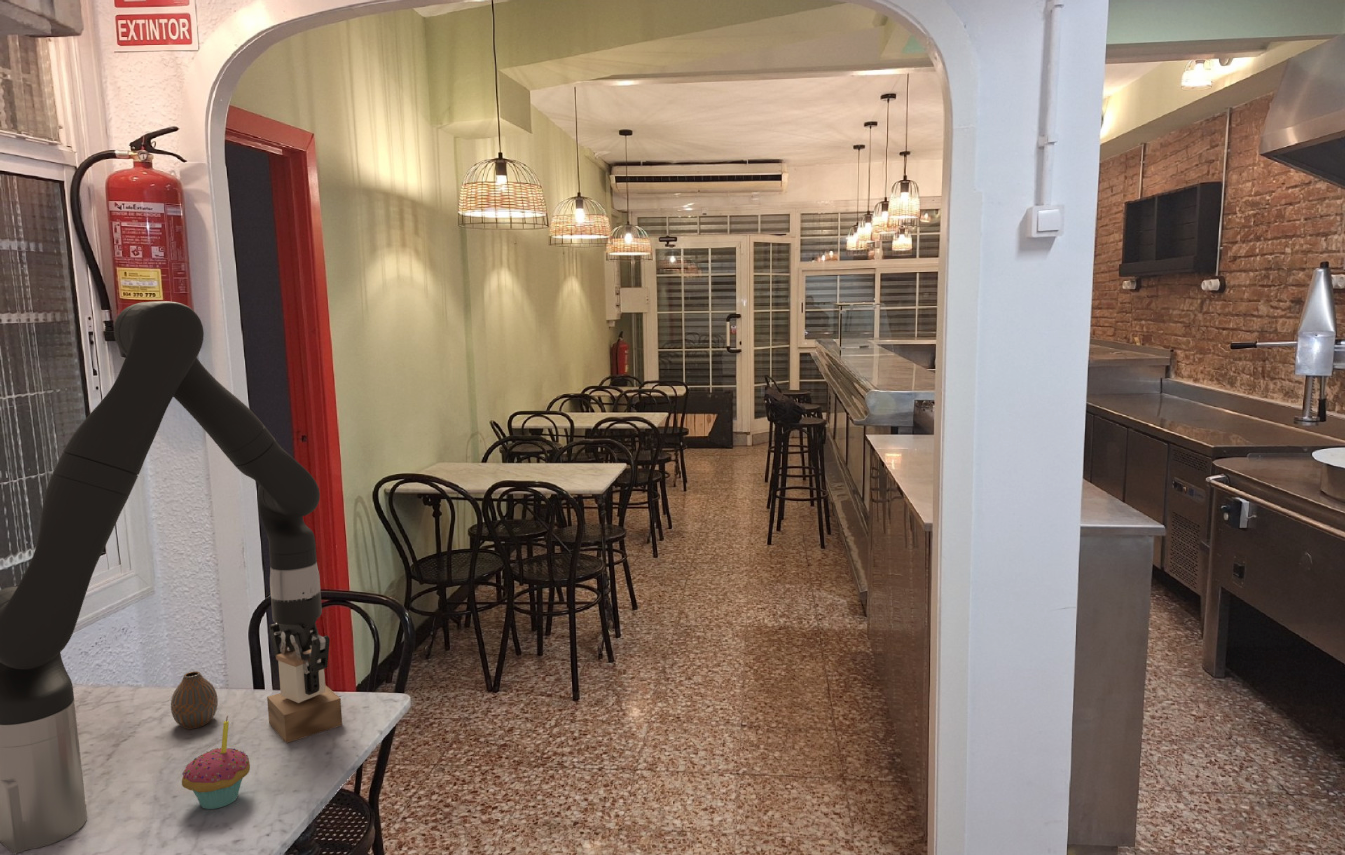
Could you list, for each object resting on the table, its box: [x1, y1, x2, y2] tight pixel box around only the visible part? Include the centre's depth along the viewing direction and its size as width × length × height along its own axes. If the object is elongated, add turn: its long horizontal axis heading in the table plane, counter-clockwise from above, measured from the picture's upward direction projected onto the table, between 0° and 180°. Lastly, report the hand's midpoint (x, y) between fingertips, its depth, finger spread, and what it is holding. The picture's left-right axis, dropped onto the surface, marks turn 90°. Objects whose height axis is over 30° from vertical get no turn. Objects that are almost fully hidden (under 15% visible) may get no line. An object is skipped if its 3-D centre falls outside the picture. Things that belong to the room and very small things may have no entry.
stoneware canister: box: [275, 650, 326, 703], centre depth 144 cm, size 5×5×7 cm
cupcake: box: [181, 715, 251, 810], centre depth 122 cm, size 9×8×12 cm
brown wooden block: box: [266, 684, 343, 744], centre depth 145 cm, size 9×9×5 cm
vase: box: [170, 670, 219, 730], centre depth 145 cm, size 7×7×9 cm
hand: (302, 688), depth 144 cm, fingers closed on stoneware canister, 5 cm apart
